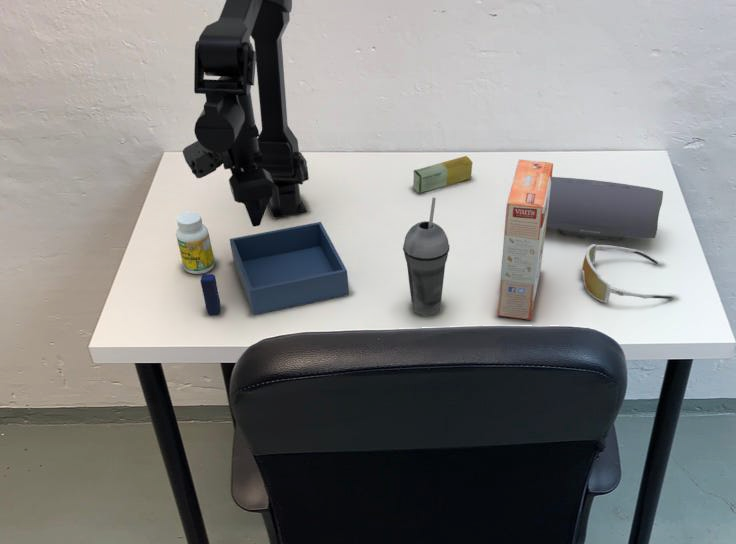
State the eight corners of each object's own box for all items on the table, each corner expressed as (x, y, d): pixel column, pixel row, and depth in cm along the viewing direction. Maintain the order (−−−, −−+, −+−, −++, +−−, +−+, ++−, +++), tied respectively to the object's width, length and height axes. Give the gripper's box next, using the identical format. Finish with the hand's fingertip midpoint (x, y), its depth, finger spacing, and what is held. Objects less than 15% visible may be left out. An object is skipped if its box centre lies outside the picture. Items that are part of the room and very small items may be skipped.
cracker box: (533, 321, 144) (545, 206, 129) (496, 317, 144) (504, 202, 130) (542, 273, 153) (555, 160, 139) (507, 269, 154) (516, 157, 140)
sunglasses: (571, 260, 156) (578, 235, 153) (653, 267, 158) (662, 243, 155) (586, 308, 146) (594, 283, 142) (673, 315, 148) (683, 291, 145)
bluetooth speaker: (654, 227, 164) (664, 177, 157) (652, 254, 158) (662, 204, 150) (532, 212, 168) (536, 163, 161) (524, 239, 161) (529, 189, 154)
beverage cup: (402, 295, 149) (400, 187, 135) (446, 293, 149) (448, 185, 135) (405, 322, 144) (403, 212, 129) (450, 320, 144) (452, 210, 130)
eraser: (208, 307, 146) (201, 272, 142) (222, 307, 146) (215, 272, 142) (206, 315, 145) (198, 280, 140) (220, 315, 145) (212, 280, 140)
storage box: (233, 262, 156) (229, 238, 152) (323, 244, 160) (320, 221, 156) (253, 315, 145) (249, 290, 142) (349, 294, 149) (347, 270, 146)
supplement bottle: (220, 260, 156) (211, 212, 149) (206, 277, 152) (195, 228, 146) (193, 255, 157) (182, 207, 151) (178, 272, 154) (166, 223, 147)
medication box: (418, 194, 172) (418, 177, 169) (412, 187, 174) (412, 169, 171) (472, 178, 176) (473, 161, 173) (465, 171, 178) (466, 154, 175)
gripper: (171, 101, 138) (191, 192, 149) (191, 157, 125) (210, 251, 137) (243, 90, 140) (256, 180, 152) (269, 144, 128) (282, 237, 139)
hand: (250, 211), depth 145 cm, fingers open, 9 cm apart
